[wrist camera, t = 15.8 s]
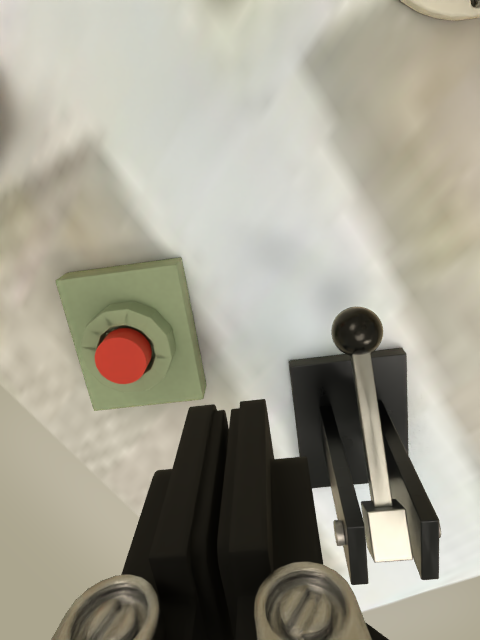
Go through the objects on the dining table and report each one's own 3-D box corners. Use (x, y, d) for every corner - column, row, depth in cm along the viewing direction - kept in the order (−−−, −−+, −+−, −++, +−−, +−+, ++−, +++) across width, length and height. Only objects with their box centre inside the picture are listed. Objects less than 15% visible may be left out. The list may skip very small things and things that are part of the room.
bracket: (288, 360, 37) (303, 475, 24) (402, 347, 36) (480, 459, 23) (302, 479, 41) (322, 632, 28) (404, 470, 40) (472, 623, 27)
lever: (326, 313, 31) (330, 305, 28) (373, 307, 31) (383, 299, 28) (358, 546, 29) (366, 566, 26) (409, 542, 29) (424, 562, 25)
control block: (67, 272, 35) (43, 287, 31) (181, 257, 34) (172, 270, 31) (102, 397, 39) (85, 423, 35) (206, 385, 38) (200, 411, 34)
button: (97, 330, 33) (88, 340, 31) (145, 324, 32) (139, 334, 31) (109, 375, 34) (101, 387, 32) (156, 370, 34) (151, 381, 32)
